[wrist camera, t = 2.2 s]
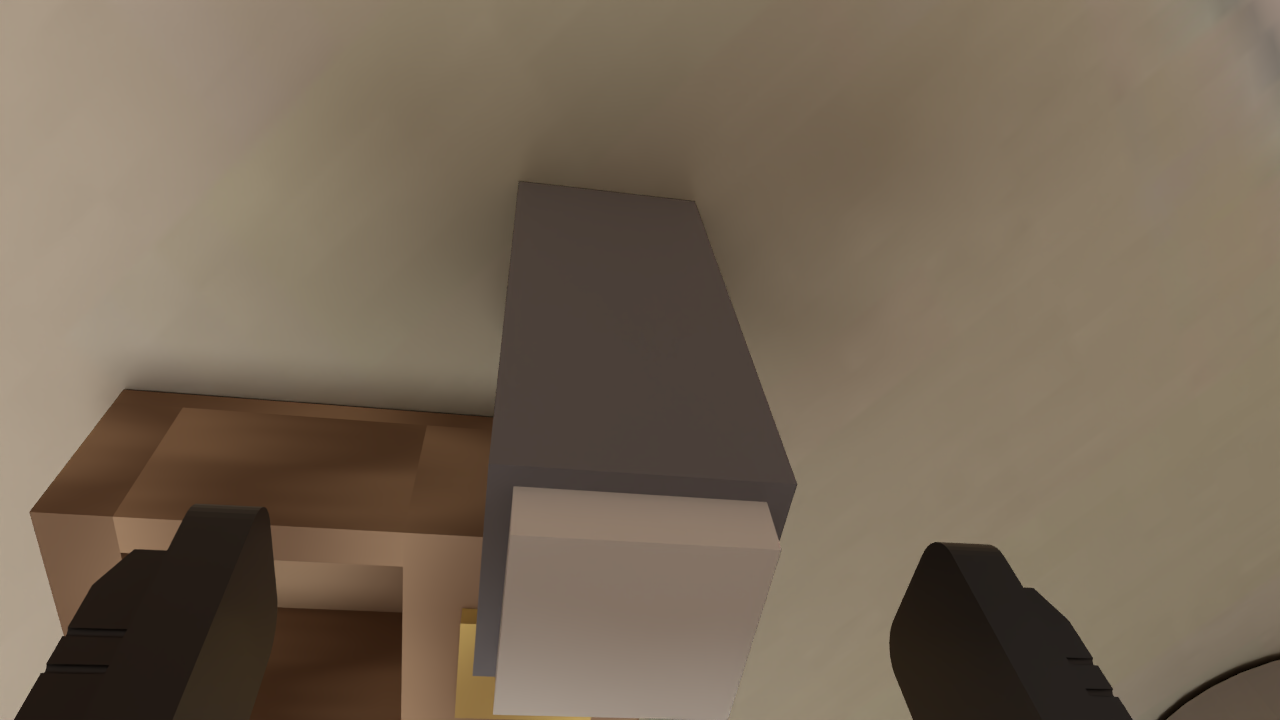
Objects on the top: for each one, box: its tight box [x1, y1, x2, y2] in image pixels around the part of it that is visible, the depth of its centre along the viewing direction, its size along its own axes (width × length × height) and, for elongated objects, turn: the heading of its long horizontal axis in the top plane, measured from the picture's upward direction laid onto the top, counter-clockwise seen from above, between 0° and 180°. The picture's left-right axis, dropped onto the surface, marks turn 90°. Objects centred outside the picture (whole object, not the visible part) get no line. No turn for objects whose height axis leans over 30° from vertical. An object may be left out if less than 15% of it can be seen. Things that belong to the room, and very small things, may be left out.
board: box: [30, 390, 639, 720], centre depth 22 cm, size 12×14×4 cm
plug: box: [473, 181, 797, 720], centre depth 14 cm, size 4×4×10 cm
